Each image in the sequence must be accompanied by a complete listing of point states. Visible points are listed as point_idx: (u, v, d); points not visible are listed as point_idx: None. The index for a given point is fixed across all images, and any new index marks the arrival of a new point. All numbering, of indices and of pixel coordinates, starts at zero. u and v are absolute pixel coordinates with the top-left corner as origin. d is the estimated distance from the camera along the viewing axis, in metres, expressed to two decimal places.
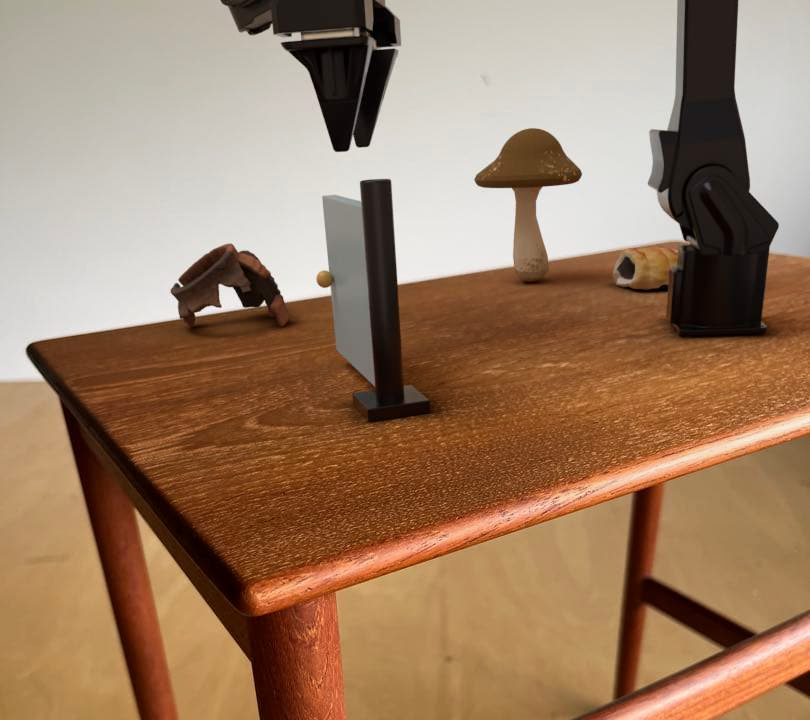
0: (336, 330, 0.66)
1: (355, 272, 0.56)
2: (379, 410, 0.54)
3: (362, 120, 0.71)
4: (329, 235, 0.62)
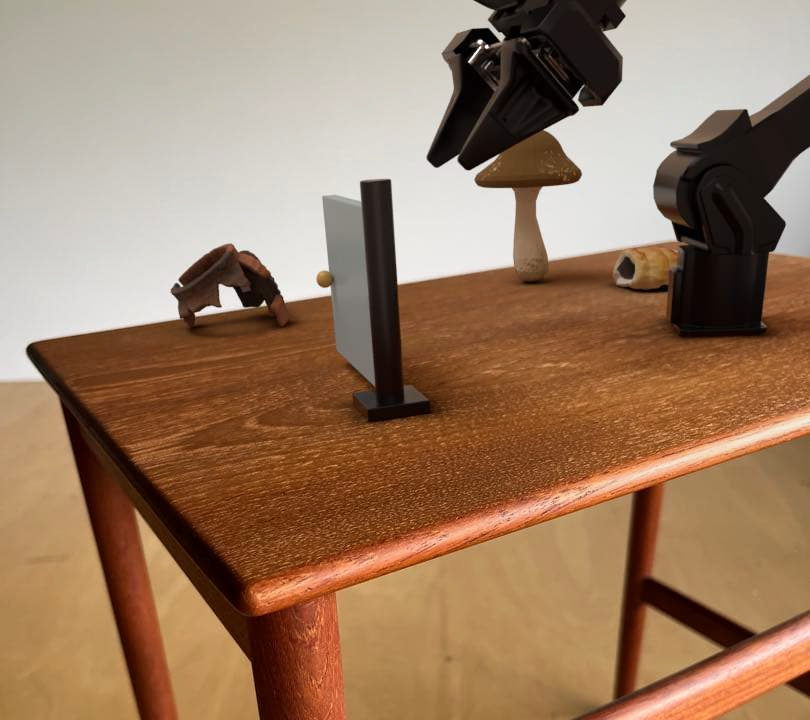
0: (336, 330, 0.66)
1: (355, 272, 0.56)
2: (379, 410, 0.54)
3: (450, 142, 0.64)
4: (329, 235, 0.62)
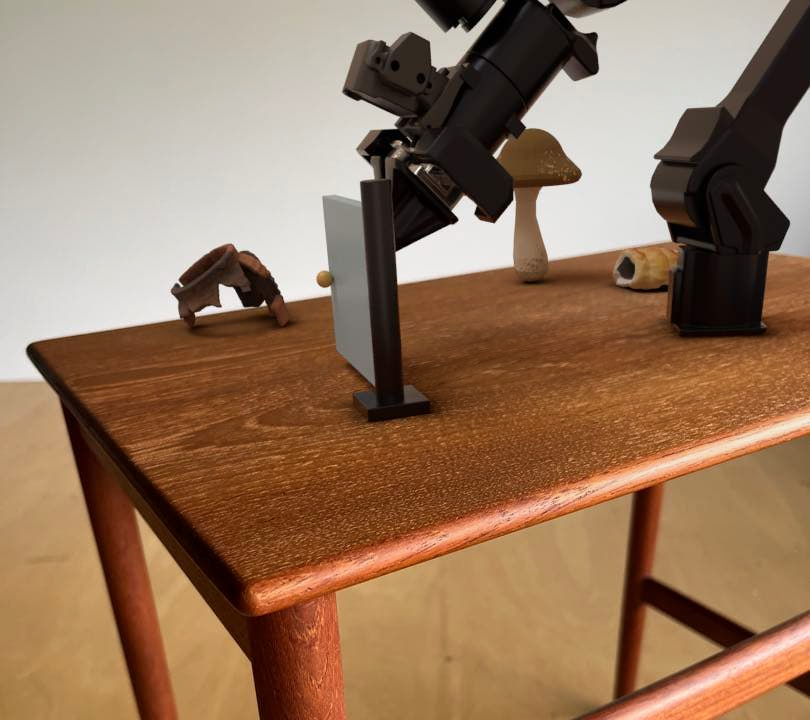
0: (336, 330, 0.66)
1: (355, 272, 0.56)
2: (379, 410, 0.54)
3: None
4: (329, 235, 0.62)
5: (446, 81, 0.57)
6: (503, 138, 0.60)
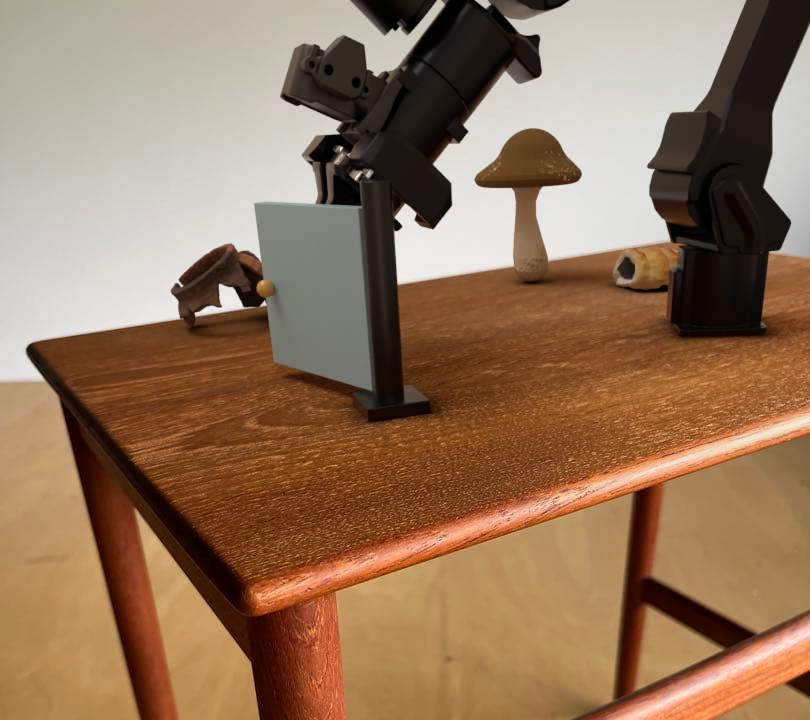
0: (276, 341, 0.63)
1: (330, 276, 0.56)
2: (379, 410, 0.54)
3: None
4: (268, 243, 0.60)
5: (384, 84, 0.56)
6: (446, 142, 0.59)
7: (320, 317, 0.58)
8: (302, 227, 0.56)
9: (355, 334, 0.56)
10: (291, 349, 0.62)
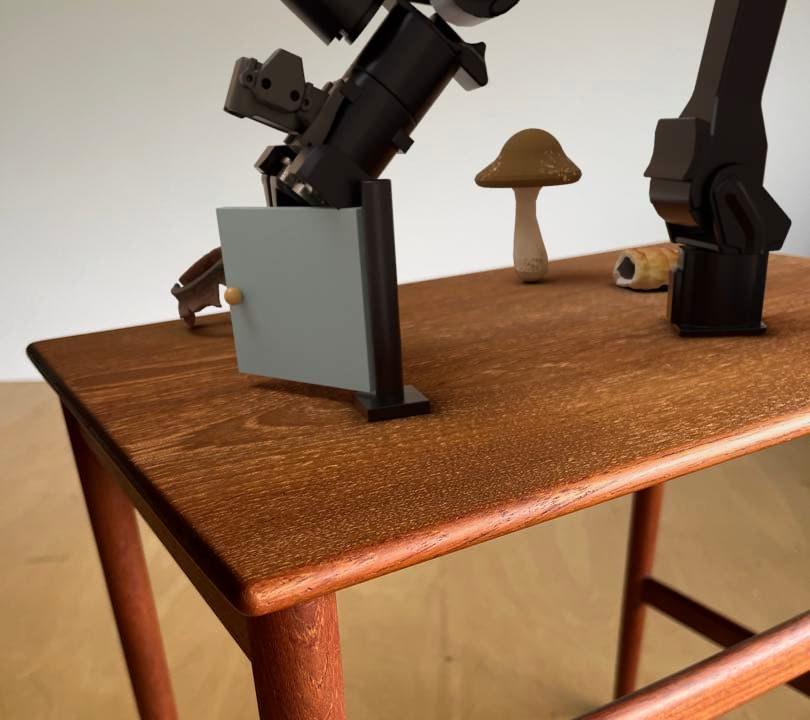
0: (242, 350, 0.61)
1: (318, 279, 0.55)
2: (379, 410, 0.54)
3: None
4: (235, 249, 0.58)
5: (326, 96, 0.56)
6: (392, 153, 0.59)
7: (303, 322, 0.57)
8: (281, 231, 0.55)
9: (349, 336, 0.55)
10: (263, 357, 0.60)
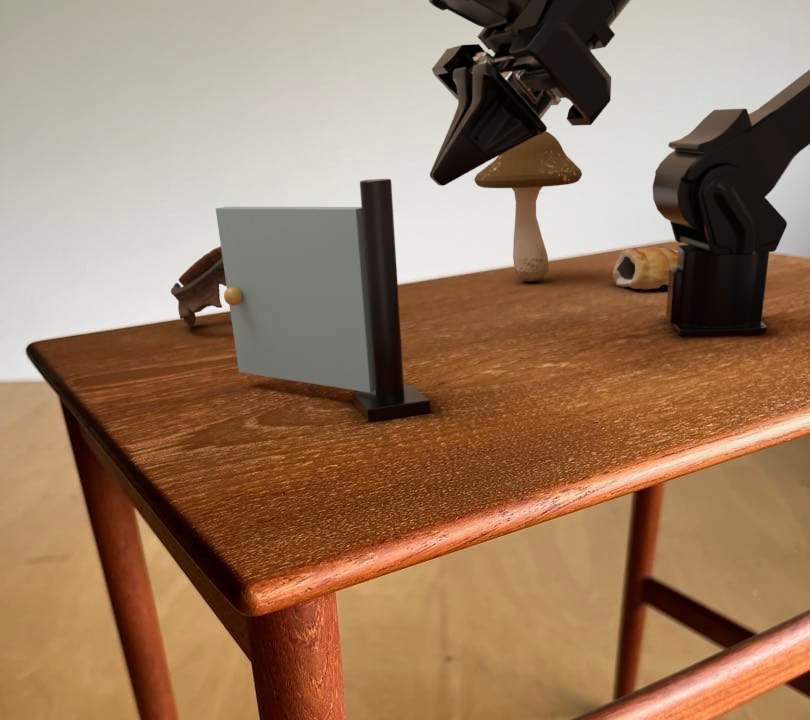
0: (242, 350, 0.61)
1: (318, 279, 0.55)
2: (379, 410, 0.54)
3: None
4: (235, 249, 0.58)
5: None
6: (591, 46, 0.60)
7: (303, 322, 0.57)
8: (281, 231, 0.55)
9: (349, 336, 0.55)
10: (263, 357, 0.60)
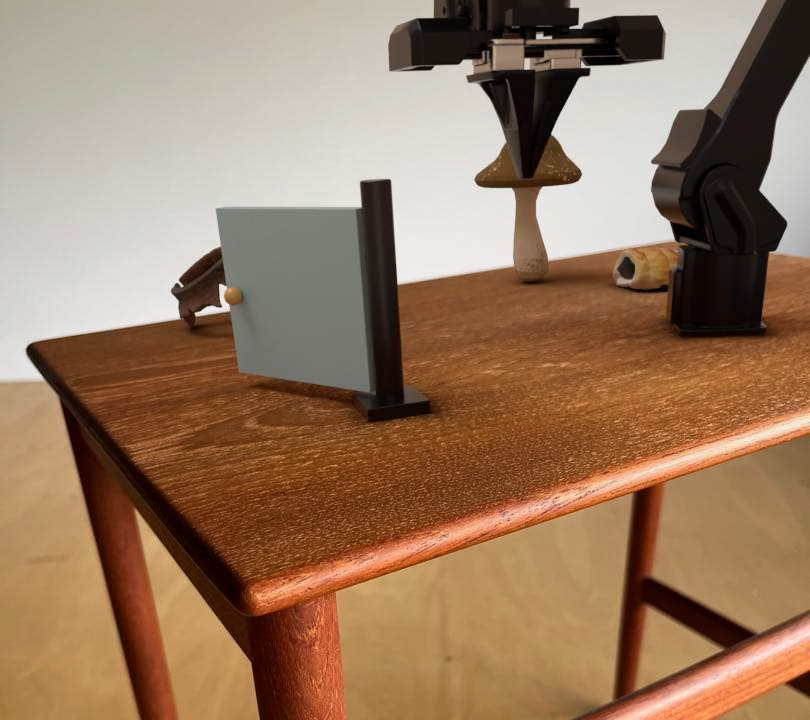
0: (242, 350, 0.61)
1: (318, 279, 0.55)
2: (379, 410, 0.54)
3: None
4: (235, 249, 0.58)
5: None
6: None
7: (303, 322, 0.57)
8: (281, 231, 0.55)
9: (349, 336, 0.55)
10: (263, 357, 0.60)
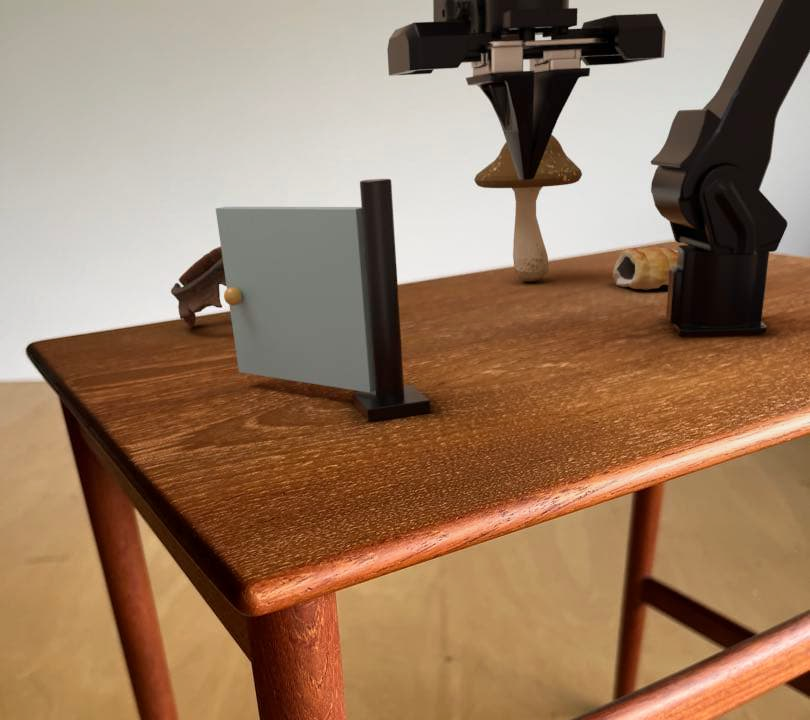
0: (242, 350, 0.61)
1: (318, 279, 0.55)
2: (379, 410, 0.54)
3: None
4: (235, 249, 0.58)
5: None
6: None
7: (303, 322, 0.57)
8: (281, 231, 0.55)
9: (349, 336, 0.55)
10: (263, 357, 0.60)
